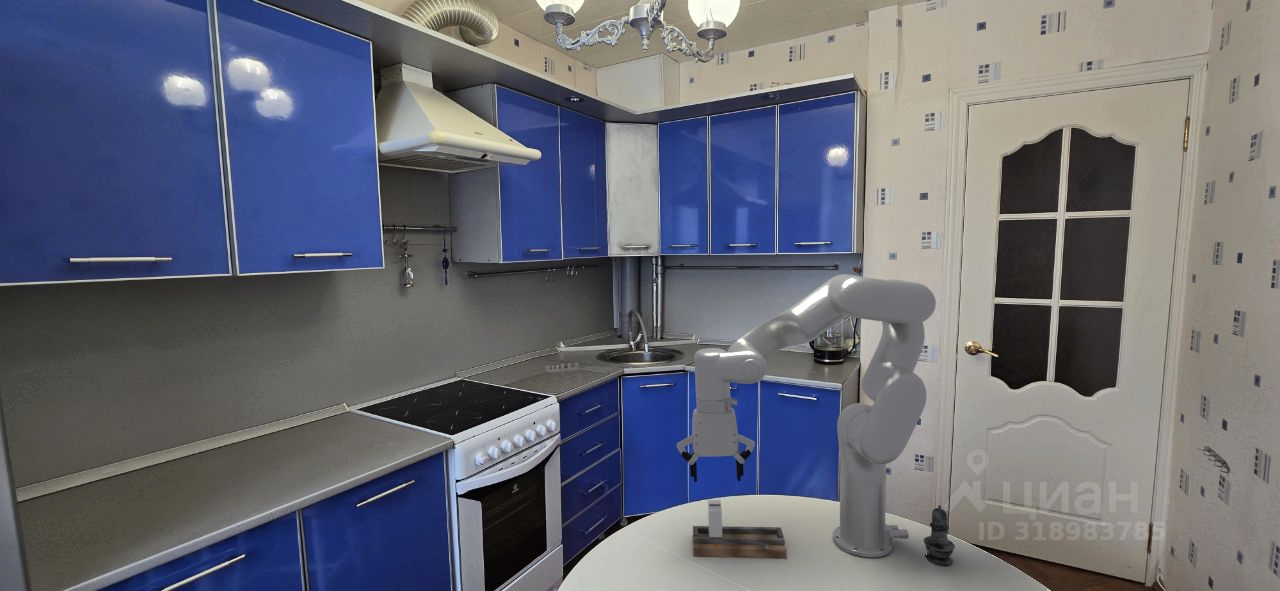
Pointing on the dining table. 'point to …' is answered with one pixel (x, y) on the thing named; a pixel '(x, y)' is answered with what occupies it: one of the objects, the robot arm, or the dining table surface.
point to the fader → (715, 518)
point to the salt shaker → (939, 540)
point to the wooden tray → (740, 542)
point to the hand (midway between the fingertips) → (717, 479)
